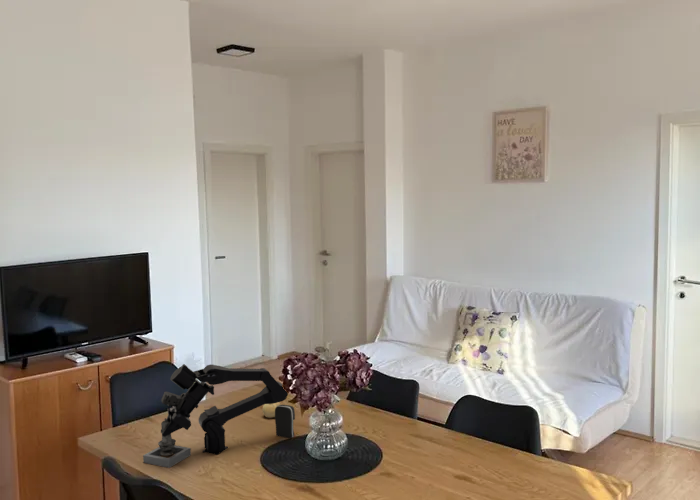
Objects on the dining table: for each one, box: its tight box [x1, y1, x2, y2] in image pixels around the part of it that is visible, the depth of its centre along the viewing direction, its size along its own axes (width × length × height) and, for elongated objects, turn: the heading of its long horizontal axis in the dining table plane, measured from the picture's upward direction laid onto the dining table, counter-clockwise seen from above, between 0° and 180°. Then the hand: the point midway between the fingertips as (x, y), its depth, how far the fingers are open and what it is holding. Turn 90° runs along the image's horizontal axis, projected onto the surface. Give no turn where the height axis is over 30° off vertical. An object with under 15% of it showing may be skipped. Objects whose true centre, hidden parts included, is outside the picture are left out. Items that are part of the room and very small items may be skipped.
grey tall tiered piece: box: [157, 417, 177, 457], centre depth 220 cm, size 6×6×12 cm
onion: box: [261, 402, 282, 418], centre depth 260 cm, size 8×8×7 cm
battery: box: [274, 404, 296, 439], centre depth 239 cm, size 7×4×11 cm, turn 67°
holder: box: [142, 444, 192, 469], centre depth 221 cm, size 11×11×2 cm
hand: (162, 433), depth 220 cm, fingers closed on grey tall tiered piece, 3 cm apart
